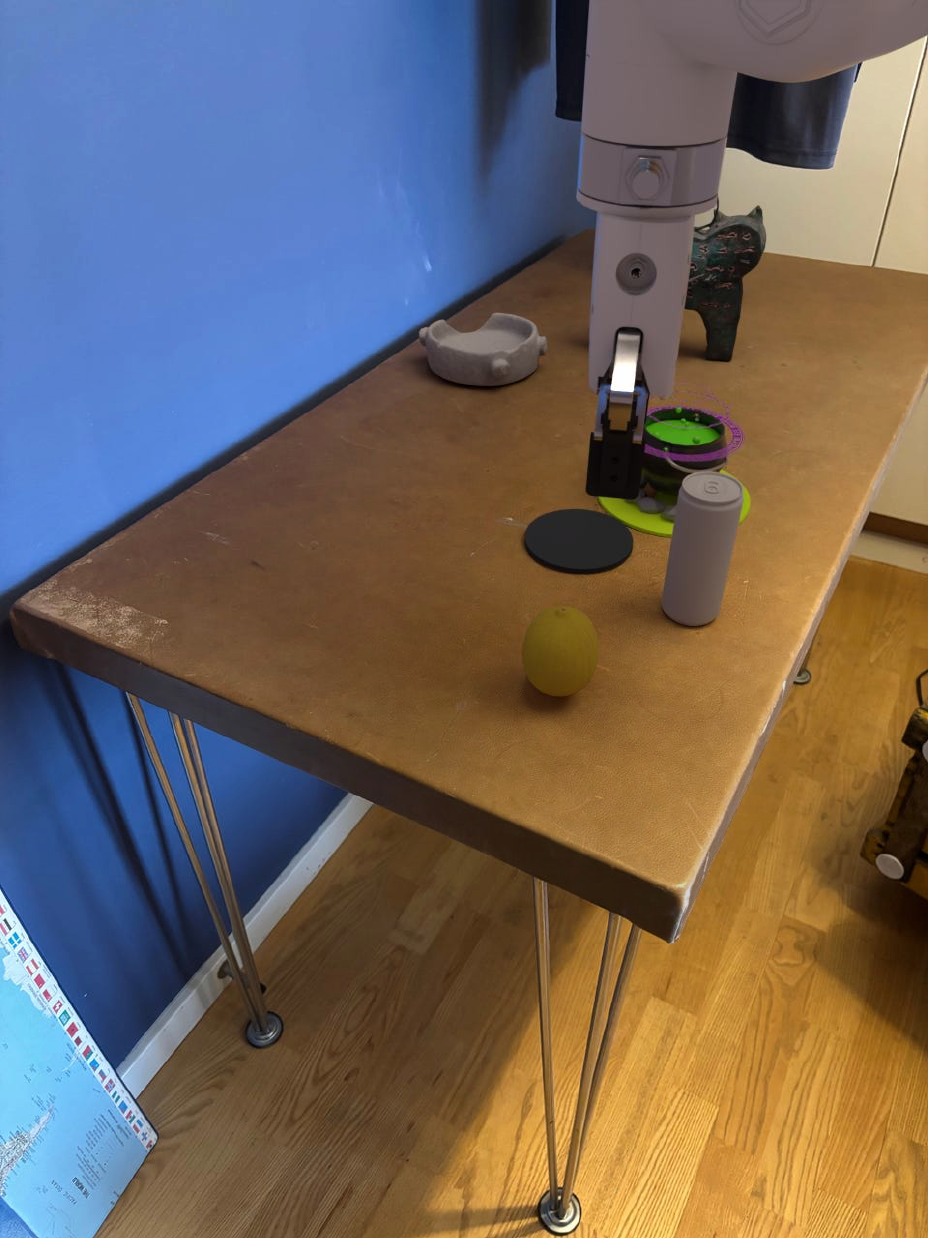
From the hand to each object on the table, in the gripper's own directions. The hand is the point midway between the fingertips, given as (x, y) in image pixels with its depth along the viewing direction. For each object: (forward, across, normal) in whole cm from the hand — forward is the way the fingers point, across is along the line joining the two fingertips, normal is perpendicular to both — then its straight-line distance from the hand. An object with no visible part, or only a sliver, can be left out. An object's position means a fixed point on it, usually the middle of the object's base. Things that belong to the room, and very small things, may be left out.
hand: (617, 456), depth 59 cm
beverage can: (+19, +9, -7) cm, 22 cm away
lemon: (+19, -3, +2) cm, 19 cm away
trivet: (+18, +17, +3) cm, 25 cm away
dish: (+19, +54, +18) cm, 60 cm away
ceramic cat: (+19, +63, -4) cm, 66 cm away
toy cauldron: (+19, +27, -6) cm, 33 cm away
